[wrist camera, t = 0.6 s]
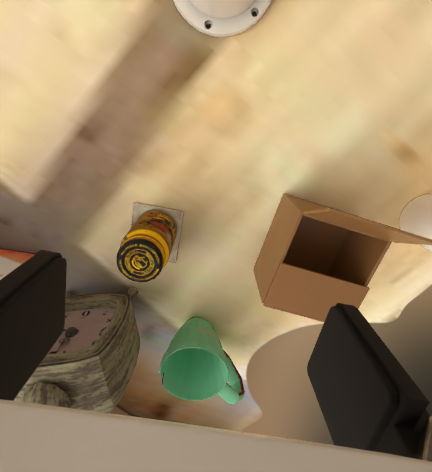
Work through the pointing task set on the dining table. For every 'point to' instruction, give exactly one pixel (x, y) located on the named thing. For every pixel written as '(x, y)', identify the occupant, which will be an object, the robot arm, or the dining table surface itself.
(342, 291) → the carton
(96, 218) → the dining table surface
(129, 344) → the tabletop clock
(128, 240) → the condiment
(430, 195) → the cylindrical container
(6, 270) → the cracker box
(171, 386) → the mug
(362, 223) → the flap
